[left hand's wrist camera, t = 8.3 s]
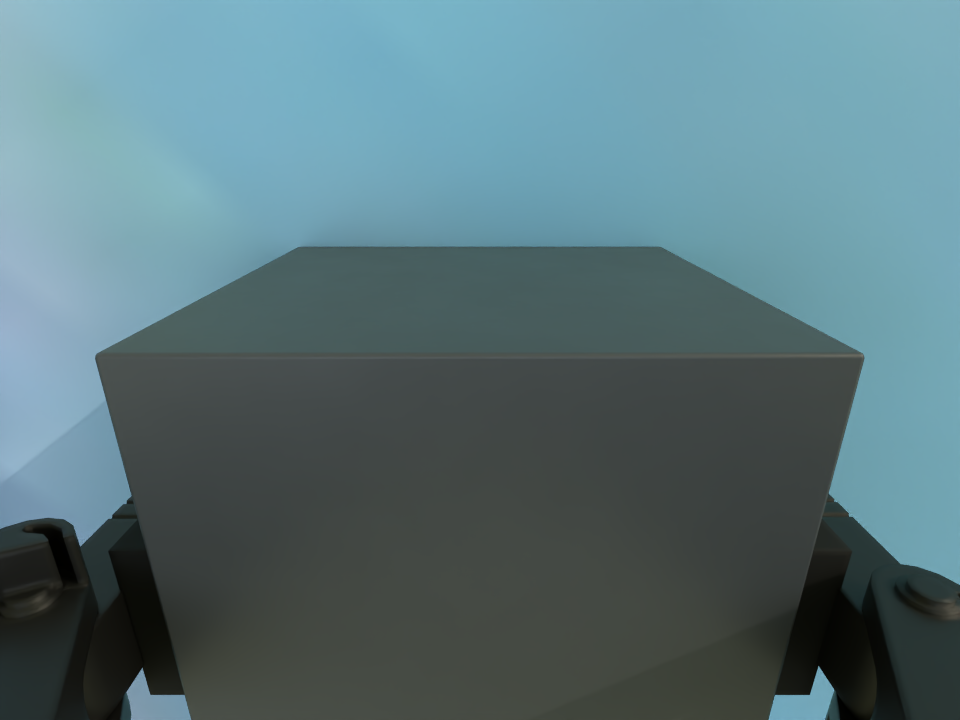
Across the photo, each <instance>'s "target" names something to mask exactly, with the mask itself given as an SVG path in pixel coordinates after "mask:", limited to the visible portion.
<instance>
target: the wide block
mask: <svg viewBox="0 0 960 720" xmlns="http://www.w3.org/2000/svg"><path fill="white" fill-rule="evenodd" d="M95 360H96V363H97V367H98V371H99V375H100V378H101V382H102V386H103V390H104V393H105V397H106V401H107V405H108V409H109V412H110V416H111V420H112V424H113V427H114V431H115V435H116V439H117V442H118V446H119V450H120V454H121V457H122V461H123V465H124V469H125V472H126V476H127V480H128V484H129V487H130V491H131V495H132V499H133V502H134V506H135V510H136V514H137V517H138V521H139V525H140V529H141V532H142V536H143V540H144V544H145V547H146V551H147V555H148V559H149V562H150V566H151V570H152V574H153V578H154V581H155V585H156V589H157V593H158V596H159V600H160V604H161V608H162V611H163V615H164V619H165V623H166V626H167V630H168V634H169V638H170V641H171V645H172V649H173V653H174V656H175V660H176V664H177V668H178V671H179V675H180V679H181V683H182V686H183V690H184V694H185V698H186V701H187V705H188V709H189V713H190V716H191V720H768V719H769V715H770V711H771V707H772V704H773V700H774V696H775V692H776V689H777V685H778V681H779V677H780V674H781V670H782V666H783V662H784V659H785V655H786V651H787V647H788V644H789V640H790V636H791V632H792V629H793V625H794V621H795V617H796V613H797V610H798V606H799V602H800V598H801V595H802V591H803V587H804V583H805V580H806V576H807V572H808V568H809V565H810V561H811V557H812V553H813V550H814V546H815V542H816V538H817V534H818V531H819V527H820V523H821V519H822V516H823V512H824V508H825V504H826V501H827V497H828V493H829V489H830V486H831V482H832V478H833V474H834V471H835V467H836V463H837V459H838V456H839V452H840V448H841V444H842V440H843V437H844V433H845V429H846V425H847V422H848V418H849V414H850V410H851V407H852V403H853V399H854V395H855V392H856V388H857V384H858V380H859V377H860V373H861V369H862V365H863V362H864V355H863V353H861V352H859V351H857V350H855V349H853V348H851V347H849V346H847V345H845V344H844V343H842V342H840V341H838V340H836V339H834V338H832V337H830V336H828V335H826V334H825V333H823V332H821V331H819V330H817V329H815V328H813V327H811V326H809V325H808V324H806V323H804V322H802V321H800V320H798V319H796V318H794V317H792V316H790V315H789V314H787V313H785V312H783V311H781V310H779V309H777V308H775V307H773V306H771V305H770V304H768V303H766V302H764V301H762V300H760V299H758V298H756V297H754V296H752V295H751V294H749V293H747V292H745V291H743V290H741V289H739V288H737V287H735V286H734V285H732V284H730V283H728V282H726V281H724V280H722V279H720V278H718V277H716V276H715V275H713V274H711V273H709V272H707V271H705V270H703V269H701V268H699V267H697V266H696V265H694V264H692V263H690V262H688V261H686V260H684V259H682V258H680V257H678V256H677V255H675V254H673V253H671V252H669V251H667V250H665V249H663V248H661V247H298V248H296V249H294V250H292V251H291V252H289V253H287V254H285V255H283V256H281V257H279V258H277V259H275V260H273V261H272V262H270V263H268V264H266V265H264V266H262V267H260V268H258V269H256V270H255V271H253V272H251V273H249V274H247V275H245V276H243V277H241V278H239V279H237V280H236V281H234V282H232V283H230V284H228V285H226V286H224V287H222V288H220V289H219V290H217V291H215V292H213V293H211V294H209V295H207V296H205V297H203V298H202V299H200V300H198V301H196V302H194V303H192V304H190V305H188V306H186V307H184V308H183V309H181V310H179V311H177V312H175V313H173V314H171V315H169V316H167V317H166V318H164V319H162V320H160V321H158V322H156V323H154V324H152V325H150V326H148V327H147V328H145V329H143V330H141V331H139V332H137V333H135V334H133V335H131V336H130V337H128V338H126V339H124V340H122V341H120V342H118V343H116V344H114V345H112V346H111V347H109V348H107V349H105V350H103V351H101V352H99V353H97V354H96V357H95Z"/></svg>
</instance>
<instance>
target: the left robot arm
mask: <svg viewBox="0 0 960 720" xmlns="http://www.w3.org/2000/svg"><path fill="white" fill-rule="evenodd" d="M848 514H849V513H848V512H847V511H846V510H845V509H844V508H843V507H842V506H841V505H840V504H839V503H838V502H834V498H833V497H831V496H830V495H829V494H828V497H827V501H826V504H825V508H824V512H823V516H822V519H821V523H820V527H819V531H818V534H817V538H816V542H815V546H814V550H813V553H812V557H811V561H810V565H809V568H808V572H807V576H806V580H805V583H804V587H803V591H802V595H801V598H800V602H799V606H798V610H797V613H796V617H795V621H794V625H793V629H792V632H791V636H790V640H789V644H788V647H787V651H786V655H785V659H784V662H783V666H782V670H781V674H780V677H779V681H778V685H777V689H776V692H775V695H810V692H811V689H812V686H813V682H814V679H815V676H816V672H817V669H818V665H819V667H820V668H821V670H822V671H823V673H824V674H825V676H826V678H827V679H828V681H829V682H830V684H831V685H832V687H833V688H834V693H833V696H832V700H831V703H830V706H829V709H828V712H827V715H826V718H825V720H960V585H958V584H957V583H955V582H953V581H951V580H949V579H947V578H945V577H943V576H941V575H939V574H937V573H934V572H931V571H928V570H925V569H922V568H919V567H915V566H909V565H902V564H900V563H899V562H898V561H897V560H896V559H895V558H894V557H893V556H892V555H891V554H890V553H889V552H888V551H887V550H886V549H884V548H883V547H882V546H881V545H880V544H879V543H878V542H877V541H876V540H875V539H874V538H873V537H872V536H871V535H870V534H869V533H868V532H867V531H866V530H865V529H864V528H863V527H862V526H861V525H860V524H859V523H858V522H857V521H856V520H855V519H854V518H853V517H849V515H848ZM142 667H143V671H144V674H145V678H146V681H147V684H148V688H149V691H150V694H151V695H185V694H184V690H183V686H182V683H181V679H180V675H179V671H178V668H177V664H176V660H175V656H174V653H173V649H172V645H171V641H170V638H169V634H168V630H167V626H166V623H165V619H164V615H163V611H162V608H161V604H160V600H159V596H158V593H157V589H156V585H155V581H154V578H153V574H152V570H151V566H150V562H149V559H148V555H147V551H146V547H145V544H144V540H143V536H142V532H141V529H140V525H139V521H138V517H137V514H136V510H135V506H134V502H133V499H132V496H131V497H130V498H129V499H128V500H127V504H123V505H122V506H121V507H120V508H119V509H118V510H117V511H116V512H115V513H114V514H113V515H112V519H108V520H107V521H106V522H105V523H104V524H103V525H102V526H101V527H100V528H99V529H98V530H97V531H96V532H95V533H94V534H93V535H92V536H91V537H90V538H89V539H88V540H87V541H86V542H85V543H84V544H83V545H82V546H81V547H80V545H79V542H78V539H77V536H76V533H75V530H74V526H73V525H72V524H70V523H69V522H67V521H66V520H64V519H54V518H44V519H36V520H29V521H25V522H21V523H18V524H14V525H11V526H8V527H4V528H2V529H0V720H131V710H130V703H129V700H128V696H127V693H126V692H127V690H128V689H129V687H130V686H131V684H132V683H133V681H134V679H135V678H136V676H137V675H138V673H139V672H140V670H141V669H142Z"/></svg>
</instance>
